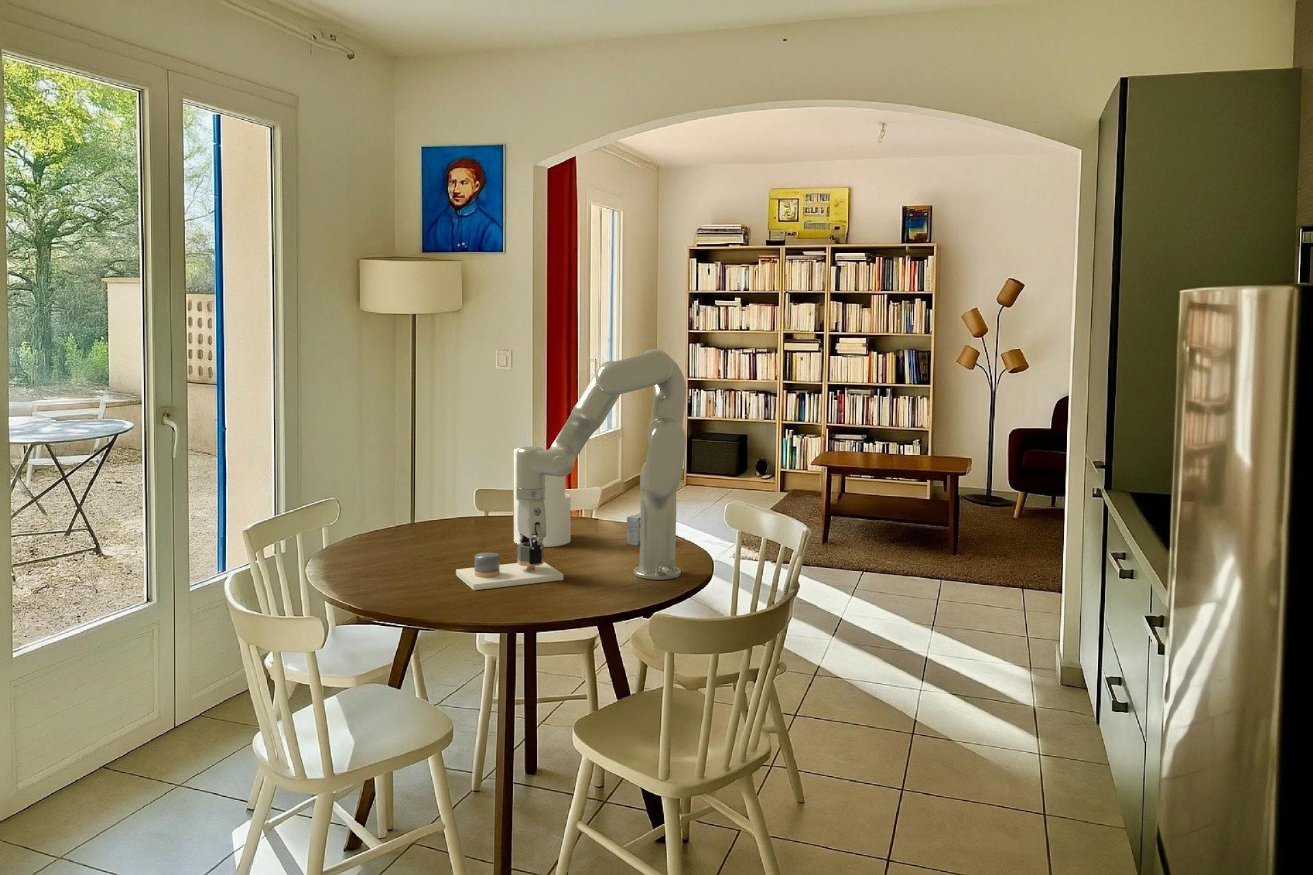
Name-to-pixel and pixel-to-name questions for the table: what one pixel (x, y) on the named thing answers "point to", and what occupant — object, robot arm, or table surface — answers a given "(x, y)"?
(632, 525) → the medicine box
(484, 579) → the pin board
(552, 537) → the cylinder
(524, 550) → the sleeve
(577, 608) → the table surface
